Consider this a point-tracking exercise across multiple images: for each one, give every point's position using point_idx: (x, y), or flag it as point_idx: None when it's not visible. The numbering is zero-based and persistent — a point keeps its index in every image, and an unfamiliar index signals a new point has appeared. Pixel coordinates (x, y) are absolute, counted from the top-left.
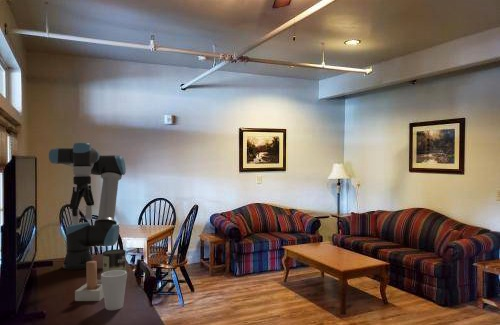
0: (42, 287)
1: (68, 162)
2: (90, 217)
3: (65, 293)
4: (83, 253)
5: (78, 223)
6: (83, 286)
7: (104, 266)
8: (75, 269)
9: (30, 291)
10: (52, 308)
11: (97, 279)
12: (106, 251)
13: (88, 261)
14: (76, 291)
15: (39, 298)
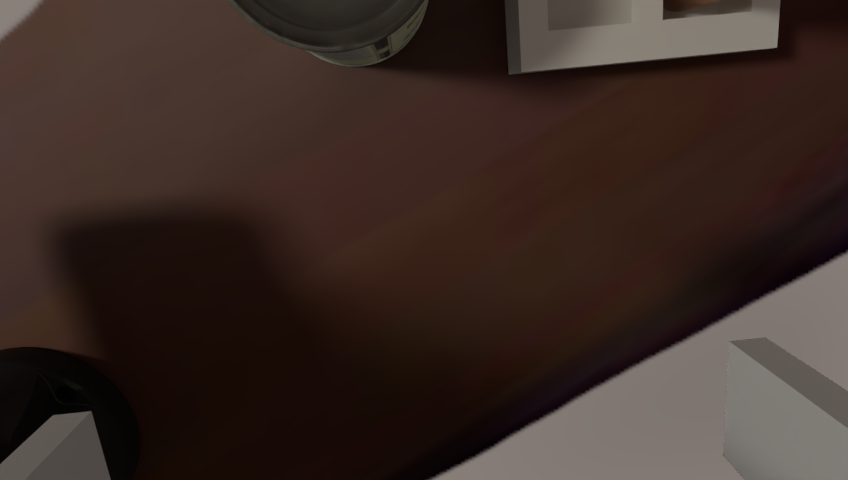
0: (500, 381)
1: None
2: (73, 455)
3: (603, 188)
4: (3, 441)
5: (761, 338)
6: (684, 42)
7: (419, 14)
8: (128, 406)
9: (568, 399)
10: (839, 116)
11: (524, 25)
12: (310, 28)
13: (24, 375)
14: (777, 36)
15: (680, 281)
